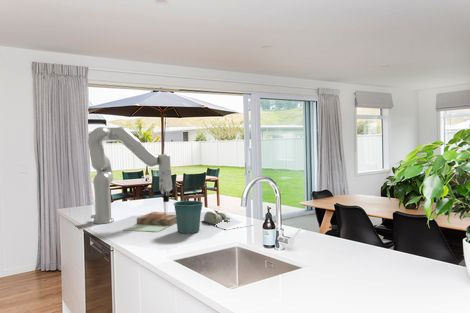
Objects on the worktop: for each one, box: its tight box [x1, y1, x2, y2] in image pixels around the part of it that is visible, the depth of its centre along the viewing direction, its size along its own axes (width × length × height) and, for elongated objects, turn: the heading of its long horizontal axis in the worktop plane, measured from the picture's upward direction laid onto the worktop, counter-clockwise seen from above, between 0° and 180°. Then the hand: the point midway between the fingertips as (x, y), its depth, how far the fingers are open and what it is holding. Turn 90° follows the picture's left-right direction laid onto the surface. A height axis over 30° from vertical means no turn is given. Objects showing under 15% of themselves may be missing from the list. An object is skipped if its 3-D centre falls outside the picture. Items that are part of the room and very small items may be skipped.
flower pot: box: [173, 200, 204, 235], centre depth 214 cm, size 16×16×16 cm
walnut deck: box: [136, 213, 177, 227], centre depth 237 cm, size 22×14×4 cm, turn 74°
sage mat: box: [123, 223, 170, 233], centre depth 223 cm, size 22×14×1 cm, turn 74°
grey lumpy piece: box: [200, 209, 231, 228], centre depth 235 cm, size 33×8×20 cm
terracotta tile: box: [148, 211, 167, 218], centre depth 236 cm, size 9×6×2 cm, turn 74°
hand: (166, 201), depth 246 cm, fingers closed
